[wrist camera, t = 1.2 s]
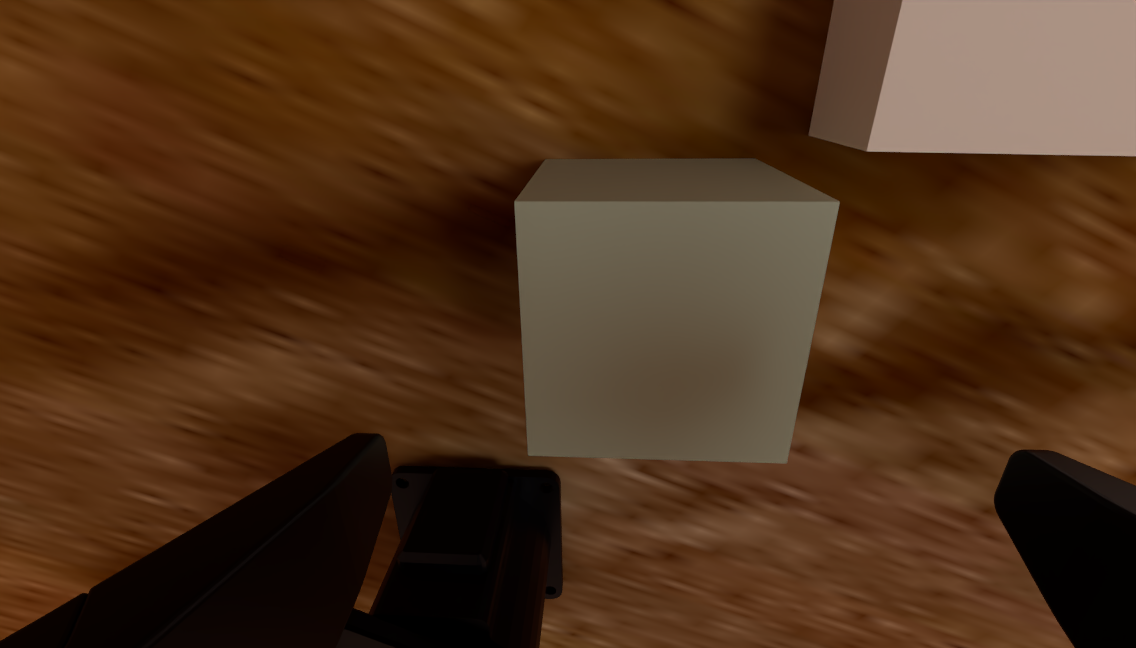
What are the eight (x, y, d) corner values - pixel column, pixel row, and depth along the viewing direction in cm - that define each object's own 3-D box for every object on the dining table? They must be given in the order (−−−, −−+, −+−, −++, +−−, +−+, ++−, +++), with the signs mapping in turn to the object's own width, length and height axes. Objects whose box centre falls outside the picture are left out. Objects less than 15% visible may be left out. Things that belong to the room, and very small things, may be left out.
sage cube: (729, 345, 18) (786, 463, 12) (550, 342, 18) (527, 455, 12) (754, 157, 15) (839, 201, 10) (545, 159, 15) (514, 201, 10)
